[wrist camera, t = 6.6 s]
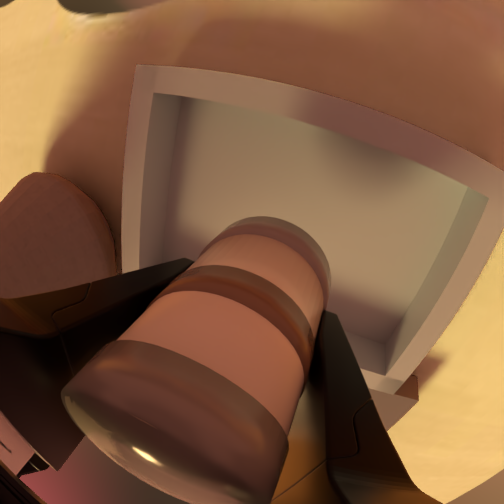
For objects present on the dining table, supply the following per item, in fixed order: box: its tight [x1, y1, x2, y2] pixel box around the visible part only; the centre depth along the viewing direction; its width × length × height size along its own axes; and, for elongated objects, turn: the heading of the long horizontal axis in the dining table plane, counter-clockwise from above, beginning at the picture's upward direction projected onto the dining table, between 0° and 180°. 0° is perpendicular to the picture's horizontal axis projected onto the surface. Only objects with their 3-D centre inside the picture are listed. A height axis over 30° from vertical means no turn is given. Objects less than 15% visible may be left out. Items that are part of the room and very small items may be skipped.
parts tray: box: [121, 64, 504, 395], centre depth 13 cm, size 16×12×3 cm
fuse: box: [61, 216, 331, 504], centre depth 7 cm, size 4×4×7 cm
